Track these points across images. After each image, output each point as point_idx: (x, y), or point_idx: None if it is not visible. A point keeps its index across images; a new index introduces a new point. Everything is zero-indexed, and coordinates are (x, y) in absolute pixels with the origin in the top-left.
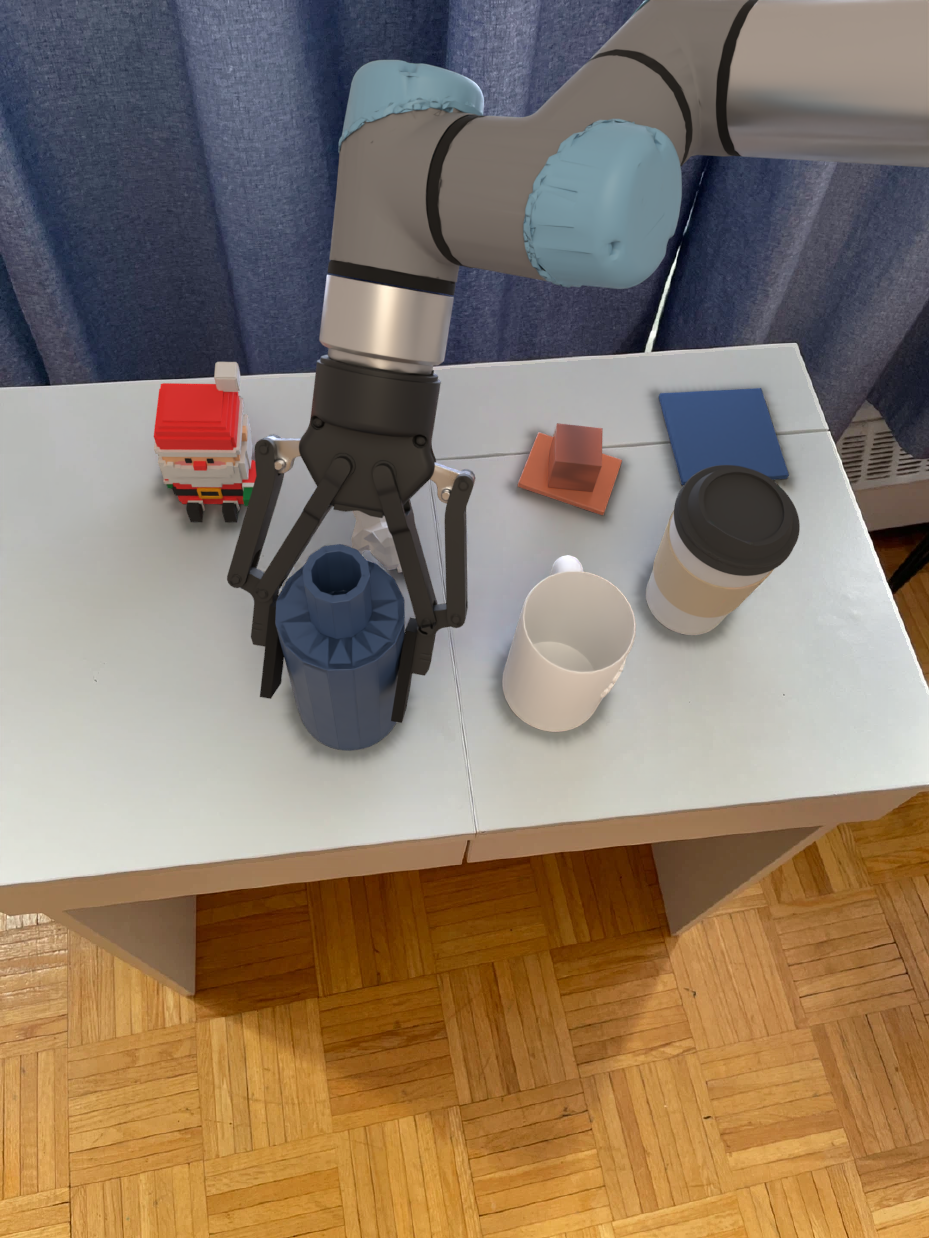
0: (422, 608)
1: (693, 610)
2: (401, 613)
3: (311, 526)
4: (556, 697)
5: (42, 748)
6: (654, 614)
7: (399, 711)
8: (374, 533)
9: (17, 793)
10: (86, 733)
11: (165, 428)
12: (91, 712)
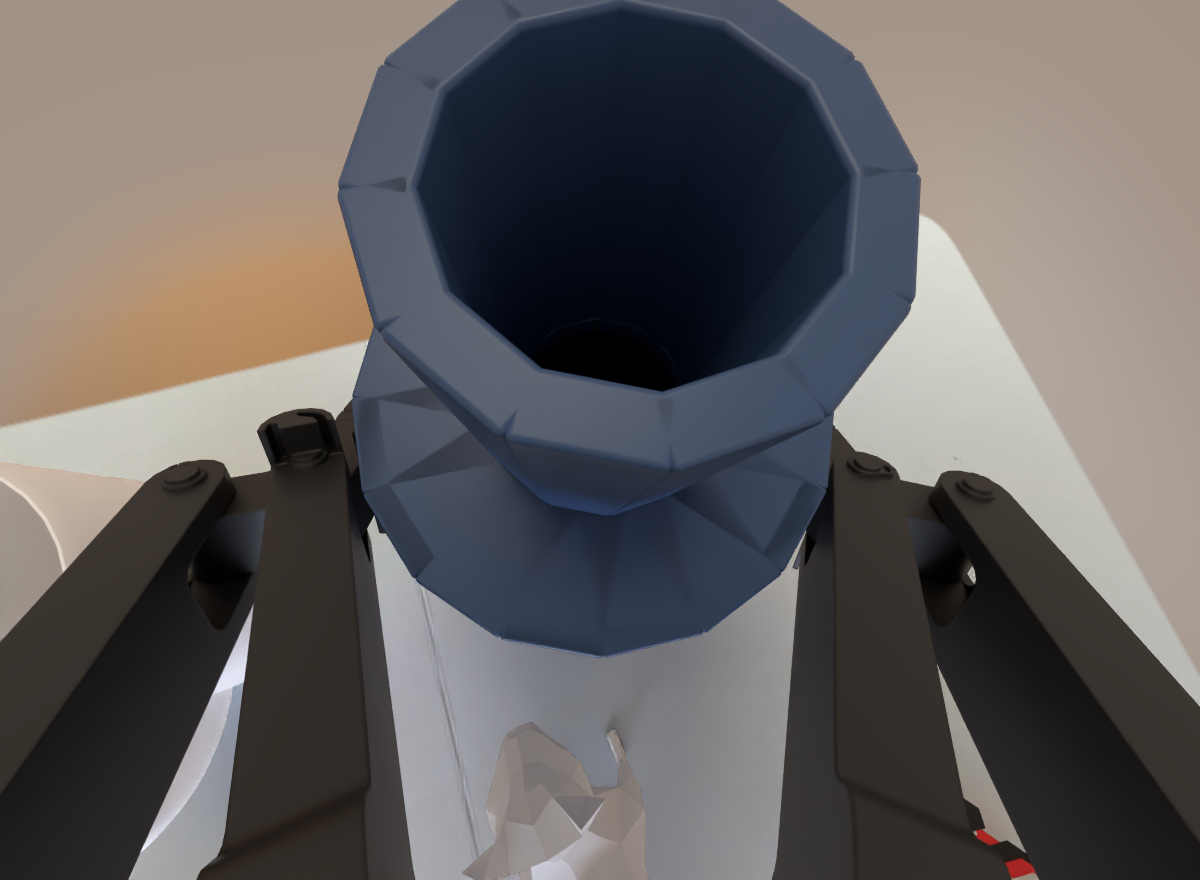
0: (307, 491)
1: None
2: (365, 426)
3: (858, 737)
4: (126, 479)
5: (975, 352)
6: None
7: None
8: (577, 829)
9: (974, 294)
10: (931, 381)
11: None
12: (939, 411)
